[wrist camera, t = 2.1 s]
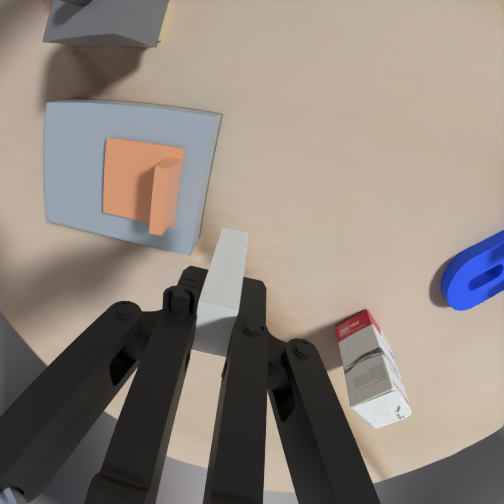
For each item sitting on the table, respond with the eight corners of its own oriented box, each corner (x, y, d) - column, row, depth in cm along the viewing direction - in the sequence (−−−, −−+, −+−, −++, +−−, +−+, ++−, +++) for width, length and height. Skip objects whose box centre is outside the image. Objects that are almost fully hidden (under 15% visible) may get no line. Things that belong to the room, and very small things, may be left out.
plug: (125, -4, 17) (48, -39, 7) (184, -6, 17) (127, -60, 7) (110, 50, 20) (23, 41, 10) (168, 52, 20) (96, 28, 10)
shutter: (108, 137, 20) (86, 145, 17) (184, 148, 21) (170, 157, 18) (105, 210, 24) (86, 227, 21) (174, 225, 24) (161, 245, 21)
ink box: (332, 326, 34) (347, 408, 24) (367, 307, 33) (394, 388, 22) (359, 360, 37) (375, 432, 27) (390, 344, 36) (413, 416, 26)
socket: (71, 98, 22) (46, 102, 19) (222, 114, 23) (214, 117, 20) (67, 205, 28) (47, 220, 25) (200, 235, 29) (190, 255, 26)
